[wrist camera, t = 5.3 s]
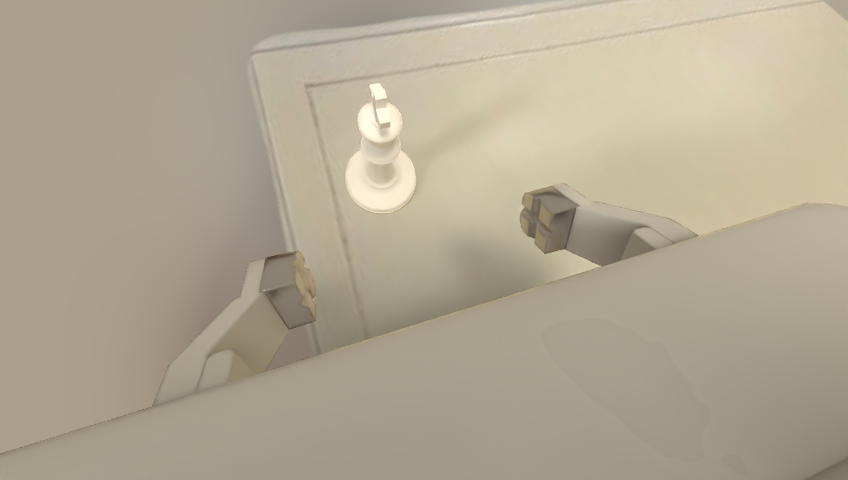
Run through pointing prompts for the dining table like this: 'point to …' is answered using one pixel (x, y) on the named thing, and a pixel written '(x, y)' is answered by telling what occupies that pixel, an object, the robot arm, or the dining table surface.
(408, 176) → the chess piece
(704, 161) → the dining table surface
